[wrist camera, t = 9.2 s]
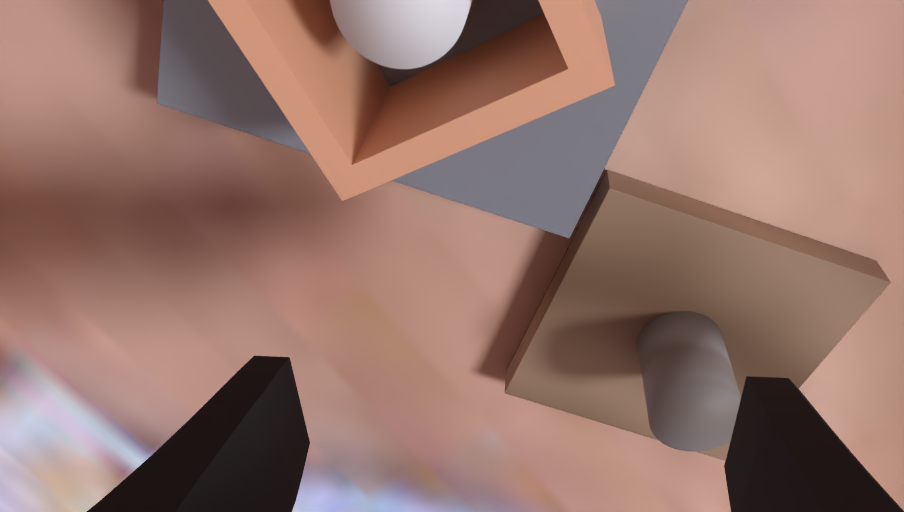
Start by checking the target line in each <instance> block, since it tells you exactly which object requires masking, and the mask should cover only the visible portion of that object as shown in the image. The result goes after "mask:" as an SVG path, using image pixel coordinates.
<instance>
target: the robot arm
mask: <svg viewBox="0 0 904 512" xmlns="http://www.w3.org/2000/svg"><path fill="white" fill-rule="evenodd" d="M309 444H310V441H309V437H308V433H307V429H306V425H305V420H304V416H303V412H302V408H301V404H300V399H299V395H298V391H297V387H296V383H295V378H294V374H293V370H292V366H291V362H290V357H269V356H254V357H253V358H252V359H250V360H249V361H248V362H247V363H246V364H245V365H244V366H243V367H242V368H241V369H240V370H239V371H238V372H237V373H236V374H235V375H234V376H233V377H232V378H231V379H230V380H229V381H228V382H227V383H226V384H225V385H224V386H223V387H222V388H221V389H220V390H219V391H218V392H217V393H216V394H215V395H214V396H213V397H212V398H211V399H210V400H209V401H208V402H207V403H206V404H205V405H204V406H203V407H202V408H201V409H200V410H199V411H198V412H197V413H196V414H195V415H194V416H193V417H192V418H191V419H190V420H188V421H187V422H186V423H185V424H184V425H183V426H182V427H181V428H180V429H179V430H178V431H177V432H176V433H175V434H174V435H173V436H172V437H171V438H170V439H169V440H168V441H166V442H165V443H164V444H163V445H162V446H161V447H160V448H159V449H158V450H157V451H156V452H155V453H154V454H153V455H152V456H151V457H149V458H148V459H147V460H146V461H145V462H144V463H143V464H142V465H141V466H139V467H138V468H137V469H136V470H135V471H134V472H133V473H131V474H130V475H129V476H128V477H127V478H126V479H125V480H123V481H122V482H121V483H120V484H119V485H118V486H117V487H116V488H114V489H113V490H112V491H111V492H110V493H109V494H108V495H106V496H105V497H104V498H103V499H102V500H100V501H99V502H98V503H97V504H96V505H94V506H93V507H92V508H91V509H90V510H88V511H87V512H292V509H293V506H294V504H295V501H296V497H297V493H298V490H299V486H300V482H301V478H302V474H303V470H304V466H305V461H306V457H307V453H308V448H309ZM724 467H725V474H726V480H727V487H728V494H729V501H730V506H731V512H904V511H903V510H902V509H901V508H900V507H899V505H898V504H897V503H896V502H895V501H894V500H893V499H892V498H891V497H890V495H889V494H888V493H887V492H886V491H885V490H884V489H883V488H882V487H881V486H880V484H879V483H878V482H877V481H876V480H875V479H874V478H873V477H872V476H871V474H870V473H869V472H868V471H867V470H866V469H865V468H864V467H863V465H862V464H861V463H860V462H859V461H858V460H857V458H856V457H855V456H854V455H853V454H852V453H851V452H850V450H849V449H848V448H847V447H846V446H845V444H844V443H843V442H842V441H841V440H840V439H839V437H838V436H837V435H836V434H835V433H834V431H833V430H832V429H831V428H830V427H829V425H828V424H827V423H826V422H825V421H824V419H823V418H822V417H821V416H820V415H819V413H818V412H817V411H816V410H815V408H814V407H813V406H812V405H811V404H810V402H809V401H808V400H807V399H806V397H805V396H804V395H803V394H802V393H801V391H800V390H799V389H798V388H797V387H796V385H795V384H794V383H793V382H792V381H791V380H790V379H789V378H776V377H752V376H746V380H745V384H744V388H743V392H742V396H741V400H740V404H739V409H738V413H737V417H736V421H735V425H734V429H733V433H732V437H731V441H730V445H729V449H728V453H727V458H726V462H725V466H724Z"/></svg>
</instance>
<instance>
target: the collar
mask: <svg viewBox="0 0 904 512" xmlns="http://www.w3.org/2000/svg"><path fill="white" fill-rule="evenodd" d="M208 1H209V3H210V4H211V6H212V7H213V9H214V10H215V12H216V13H217V15H218V16H219V18H220V19H221V21H222V22H223V24H224V25H225V27H226V28H227V30H228V31H229V33H230V34H231V36H232V37H233V39H234V40H235V42H236V43H237V45H238V46H239V48H240V49H241V51H242V52H243V54H244V55H245V57H246V58H247V60H248V61H249V63H250V64H251V66H252V67H253V68H254V70H255V71H256V73H257V74H258V76H259V77H260V79H261V80H262V82H263V83H264V85H265V86H266V88H267V89H268V91H269V92H270V94H271V95H272V97H273V98H274V100H275V101H276V103H277V104H278V106H279V107H280V109H281V110H282V112H283V113H284V115H285V116H286V118H287V119H288V121H289V122H290V124H291V125H292V127H293V128H294V130H295V131H296V133H297V134H298V136H299V137H300V139H301V140H302V142H303V143H304V145H305V146H306V148H307V149H308V151H309V152H310V154H311V155H312V156H313V158H314V159H315V161H316V162H317V164H318V165H319V167H320V168H321V170H322V171H323V173H324V174H325V176H326V177H327V179H328V180H329V182H330V183H331V185H332V186H333V188H334V189H335V191H336V192H337V194H338V195H339V197H340V198H341V200H342V201H344V200H346V199H349V198H351V197H354V196H356V195H358V194H361V193H363V192H365V191H368V190H370V189H372V188H375V187H377V186H379V185H382V184H384V183H386V182H389V181H391V180H394V179H396V178H398V177H401V176H403V175H405V174H408V173H410V172H412V171H415V170H417V169H419V168H422V167H424V166H426V165H429V164H431V163H434V162H436V161H438V160H441V159H443V158H445V157H448V156H450V155H452V154H455V153H457V152H459V151H462V150H464V149H467V148H469V147H471V146H474V145H476V144H478V143H481V142H483V141H485V140H488V139H490V138H492V137H495V136H497V135H499V134H502V133H504V132H507V131H509V130H511V129H514V128H516V127H518V126H521V125H523V124H525V123H528V122H530V121H532V120H535V119H537V118H539V117H542V116H544V115H547V114H549V113H551V112H554V111H556V110H558V109H561V108H563V107H565V106H568V105H570V104H572V103H575V102H577V101H580V100H582V99H584V98H587V97H589V96H591V95H594V94H596V93H598V92H601V91H603V90H605V89H608V88H610V87H612V86H615V82H614V77H613V72H612V67H611V62H610V57H609V53H608V48H607V43H606V38H605V33H604V28H603V23H602V18H601V15H600V13H599V10H598V8H597V5H596V3H595V0H538V1H539V3H540V5H541V7H542V10H543V12H544V14H542V15H540V16H538V17H535V18H533V19H531V20H529V21H527V22H525V23H523V24H521V25H519V26H517V27H515V28H513V29H510V30H508V31H506V32H504V33H502V34H500V35H498V36H496V37H494V38H492V39H490V40H487V41H485V42H483V43H481V44H479V45H477V46H475V47H473V48H471V49H469V50H467V51H464V52H462V53H460V54H458V55H456V56H454V57H452V58H450V59H448V60H446V61H444V62H441V63H439V64H437V65H435V66H433V67H431V68H429V69H427V70H425V71H423V72H421V73H418V74H416V75H414V76H412V77H410V78H408V79H406V80H404V81H402V82H400V83H398V84H395V85H393V86H391V87H390V86H389V84H388V82H387V80H386V79H385V77H384V75H383V74H382V72H381V70H380V68H379V67H378V65H377V63H374V62H372V61H371V60H369V59H367V58H365V57H364V56H363V55H361V54H360V53H358V52H357V51H356V50H355V49H354V48H353V47H352V46H351V45H350V44H349V43H348V41H347V40H346V39H345V37H344V36H343V34H342V33H341V31H340V30H339V28H338V26H337V24H336V21H335V19H334V16H333V12H332V8H331V3H330V0H208Z"/></svg>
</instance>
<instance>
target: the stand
mask: <svg viewBox="0 0 904 512" xmlns="http://www.w3.org/2000/svg"><path fill="white" fill-rule="evenodd" d="M890 283H891V282H890V281H889V279H888V278H887V276H886V275H885V273H884V271H883V270H882V268H881V267H880V265H879V264H878V262H877V261H875V260H872V259H869V258H866V257H863V256H860V255H858V254H855V253H852V252H849V251H846V250H843V249H840V248H837V247H834V246H831V245H828V244H825V243H822V242H819V241H816V240H813V239H810V238H807V237H804V236H801V235H798V234H795V233H792V232H789V231H786V230H783V229H781V228H778V227H775V226H772V225H769V224H766V223H763V222H760V221H757V220H754V219H751V218H748V217H745V216H742V215H739V214H736V213H733V212H730V211H727V210H724V209H721V208H718V207H715V206H712V205H709V204H706V203H704V202H701V201H698V200H695V199H692V198H689V197H686V196H683V195H680V194H677V193H674V192H671V191H668V190H665V189H662V188H659V187H656V186H653V185H650V184H647V183H644V182H641V181H638V180H635V179H632V178H629V177H627V176H624V175H621V174H618V173H615V172H612V171H609V170H607V172H606V174H605V176H604V178H603V180H602V182H601V184H600V186H599V188H598V190H597V192H596V194H595V196H594V198H593V200H592V202H591V204H590V206H589V208H588V210H587V212H586V214H585V216H584V218H583V220H582V222H581V224H580V226H579V227H578V229H577V231H576V233H575V235H574V237H573V239H572V241H571V243H570V245H569V247H568V249H567V251H566V253H565V255H564V257H563V259H562V261H561V263H560V265H559V267H558V269H557V271H556V273H555V275H554V277H553V279H552V281H551V283H550V285H549V287H548V289H547V291H546V293H545V295H544V297H543V299H542V301H541V303H540V305H539V307H538V309H537V311H536V313H535V315H534V317H533V319H532V321H531V323H530V325H529V327H528V329H527V331H526V333H525V335H524V337H523V339H522V341H521V343H520V345H519V347H518V349H517V351H516V353H515V355H514V357H513V359H512V361H511V363H510V365H509V367H508V369H507V371H506V382H505V393H506V394H509V395H513V396H516V397H519V398H522V399H526V400H529V401H532V402H535V403H539V404H542V405H545V406H548V407H552V408H555V409H558V410H562V411H565V412H568V413H571V414H575V415H578V416H581V417H584V418H588V419H591V420H594V421H597V422H601V423H604V424H607V425H610V426H614V427H617V428H620V429H623V430H627V431H630V432H633V433H637V434H640V435H643V436H646V437H650V438H653V439H656V440H659V441H660V442H662V443H663V444H665V445H667V446H669V447H672V448H674V449H678V450H683V451H695V452H698V453H702V454H705V455H708V456H712V457H715V458H718V459H721V460H725V461H726V458H727V453H728V449H729V445H730V441H731V437H732V433H733V429H734V425H735V421H736V417H737V413H738V409H739V404H740V400H741V396H742V392H743V388H744V384H745V380H746V376H752V377H776V378H789V379H790V380H791V381H792V382H793V383H794V384H795V385H796V387H797V388H798V389H799V387H800V386H801V385H802V384H803V383H804V382H805V381H806V379H807V378H808V377H809V376H810V375H811V374H812V372H813V371H814V370H815V369H816V368H817V367H818V366H819V364H820V363H821V362H822V361H823V360H824V359H825V358H826V356H827V355H828V354H829V353H830V352H831V351H832V349H833V348H834V347H835V346H836V345H837V344H838V343H839V341H840V340H841V339H842V338H843V337H844V336H845V335H846V333H847V332H848V331H849V330H850V329H851V328H852V326H853V325H854V324H855V323H856V322H857V321H858V320H859V318H860V317H861V316H862V315H863V314H864V313H865V311H866V310H867V309H868V308H869V307H870V306H871V305H872V303H873V302H874V301H875V300H876V299H877V298H878V297H879V295H880V294H881V293H882V292H883V291H884V290H885V288H886V287H887V286H888V285H889V284H890Z"/></svg>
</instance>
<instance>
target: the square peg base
mask: <svg viewBox="0 0 904 512" xmlns="http://www.w3.org/2000/svg"><path fill="white" fill-rule="evenodd" d="M687 2H688V0H595V3H596V5H597V8H598V10H599V13H600V15H601V18H602V23H603V28H604V33H605V38H606V43H607V48H608V53H609V57H610V62H611V67H612V72H613V77H614V82H615V86H612V87H610V88H608V89H605V90H603V91H601V92H598V93H596V94H594V95H591V96H589V97H587V98H584V99H582V100H580V101H577V102H575V103H572V104H570V105H568V106H565V107H563V108H561V109H558V110H556V111H554V112H551V113H549V114H547V115H544V116H542V117H539V118H537V119H535V120H532V121H530V122H528V123H525V124H523V125H521V126H518V127H516V128H514V129H511V130H509V131H507V132H504V133H502V134H499V135H497V136H495V137H492V138H490V139H488V140H485V141H483V142H481V143H478V144H476V145H474V146H471V147H469V148H467V149H464V150H462V151H459V152H457V153H455V154H452V155H450V156H448V157H445V158H443V159H441V160H438V161H436V162H434V163H431V164H429V165H426V166H424V167H422V168H419V169H417V170H415V171H412V172H410V173H408V174H405V175H403V176H401V177H398V178H396V179H394V180H392V181H395V182H398V183H401V184H404V185H407V186H410V187H413V188H417V189H420V190H423V191H426V192H429V193H432V194H435V195H438V196H441V197H444V198H447V199H450V200H453V201H456V202H459V203H462V204H465V205H468V206H471V207H474V208H478V209H481V210H484V211H487V212H490V213H493V214H496V215H499V216H502V217H505V218H508V219H511V220H514V221H517V222H520V223H523V224H526V225H529V226H532V227H535V228H539V229H542V230H545V231H548V232H551V233H554V234H557V235H560V236H563V237H566V238H570V236H571V234H572V232H573V230H574V228H575V226H576V224H577V222H578V220H579V218H580V216H581V214H582V212H583V210H584V208H585V206H586V204H587V202H588V200H589V198H590V196H591V194H592V192H593V190H594V188H595V186H596V184H597V182H598V180H599V178H600V176H601V174H602V172H603V170H604V168H605V166H606V164H607V162H608V160H609V158H610V156H611V154H612V152H613V150H614V148H615V146H616V144H617V142H618V140H619V138H620V136H621V134H622V132H623V130H624V128H625V126H626V124H627V122H628V120H629V118H630V116H631V114H632V112H633V110H634V108H635V106H636V104H637V102H638V100H639V98H640V96H641V94H642V92H643V90H644V88H645V86H646V84H647V82H648V80H649V78H650V76H651V74H652V72H653V70H654V68H655V66H656V64H657V62H658V60H659V58H660V56H661V54H662V52H663V50H664V48H665V46H666V44H667V42H668V40H669V38H670V36H671V34H672V32H673V30H674V28H675V26H676V24H677V22H678V20H679V18H680V16H681V14H682V12H683V10H684V8H685V6H686V4H687ZM330 3H331V8H332V12H333V16H334V19H335V21H336V24H337V26H338V28H339V30H340V31H341V33H342V34H343V36H344V37H345V39H346V40H347V41H348V43H349V44H350V45H351V46H352V47H353V48H354V49H355V50H356V51H357V52H358V53H360V54H361V55H363V56H364V57H365V58H367V59H369V60H371V61H372V62H374V63H377V65H378V67H379V68H380V70H381V72H382V74H383V75H384V77H385V79H386V80H387V82H388V84H389V86H390V87H391V86H393V85H395V84H398V83H400V82H402V81H404V80H406V79H408V78H410V77H412V76H414V75H416V74H418V73H421V72H423V71H425V70H427V69H429V68H431V67H433V66H435V65H437V64H439V63H441V62H444V61H446V60H448V59H450V58H452V57H454V56H456V55H458V54H460V53H462V52H464V51H467V50H469V49H471V48H473V47H475V46H477V45H479V44H481V43H483V42H485V41H487V40H490V39H492V38H494V37H496V36H498V35H500V34H502V33H504V32H506V31H508V30H510V29H513V28H515V27H517V26H519V25H521V24H523V23H525V22H527V21H529V20H531V19H533V18H535V17H538V16H540V15H542V14H544V12H543V10H542V7H541V5H540V3H539V1H538V0H330ZM157 104H160V105H163V106H166V107H169V108H172V109H175V110H179V111H182V112H185V113H188V114H191V115H194V116H197V117H200V118H203V119H206V120H209V121H212V122H215V123H218V124H221V125H224V126H227V127H230V128H233V129H236V130H240V131H243V132H246V133H249V134H252V135H255V136H258V137H261V138H264V139H267V140H270V141H273V142H276V143H279V144H282V145H285V146H288V147H291V148H294V149H298V150H301V151H304V152H307V153H310V152H309V151H308V149H307V148H306V146H305V145H304V143H303V142H302V140H301V139H300V137H299V136H298V134H297V133H296V131H295V130H294V128H293V127H292V125H291V124H290V122H289V121H288V119H287V118H286V116H285V115H284V113H283V112H282V110H281V109H280V107H279V106H278V104H277V103H276V101H275V100H274V98H273V97H272V95H271V94H270V92H269V91H268V89H267V88H266V86H265V85H264V83H263V82H262V80H261V79H260V77H259V76H258V74H257V73H256V71H255V70H254V68H253V67H252V66H251V64H250V63H249V61H248V60H247V58H246V57H245V55H244V54H243V52H242V51H241V49H240V48H239V46H238V45H237V43H236V42H235V40H234V39H233V37H232V36H231V34H230V33H229V31H228V30H227V28H226V27H225V25H224V24H223V22H222V21H221V19H220V18H219V16H218V15H217V13H216V12H215V10H214V9H213V7H212V6H211V4H210V3H209V1H208V0H163V14H162V30H161V45H160V61H159V76H158V92H157Z"/></svg>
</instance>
